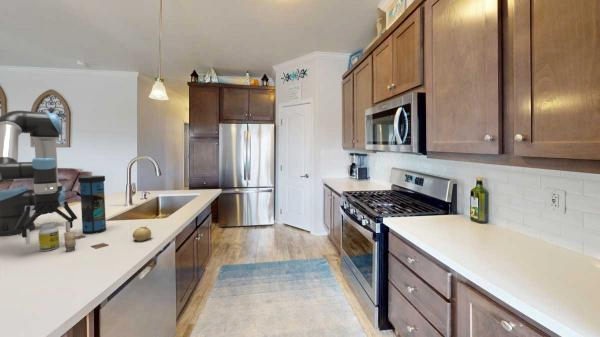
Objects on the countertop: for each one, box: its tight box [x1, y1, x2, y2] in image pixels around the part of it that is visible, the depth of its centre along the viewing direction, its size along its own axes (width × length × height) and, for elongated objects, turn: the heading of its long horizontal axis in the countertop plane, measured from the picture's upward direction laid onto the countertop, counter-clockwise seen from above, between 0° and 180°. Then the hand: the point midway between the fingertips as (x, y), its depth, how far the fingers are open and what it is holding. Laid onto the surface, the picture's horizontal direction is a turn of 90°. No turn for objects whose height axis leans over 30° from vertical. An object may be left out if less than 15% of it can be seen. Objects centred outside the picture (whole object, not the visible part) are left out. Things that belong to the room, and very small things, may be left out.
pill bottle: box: [38, 221, 60, 252], centre depth 117 cm, size 6×6×12 cm
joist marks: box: [75, 234, 109, 250], centre depth 127 cm, size 28×5×1 cm, turn 60°
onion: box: [132, 226, 152, 242], centre depth 130 cm, size 8×8×7 cm
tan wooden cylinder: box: [63, 230, 77, 253], centre depth 116 cm, size 4×4×8 cm
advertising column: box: [77, 175, 107, 235], centre depth 141 cm, size 11×11×30 cm
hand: (49, 239), depth 117 cm, fingers open, 13 cm apart
